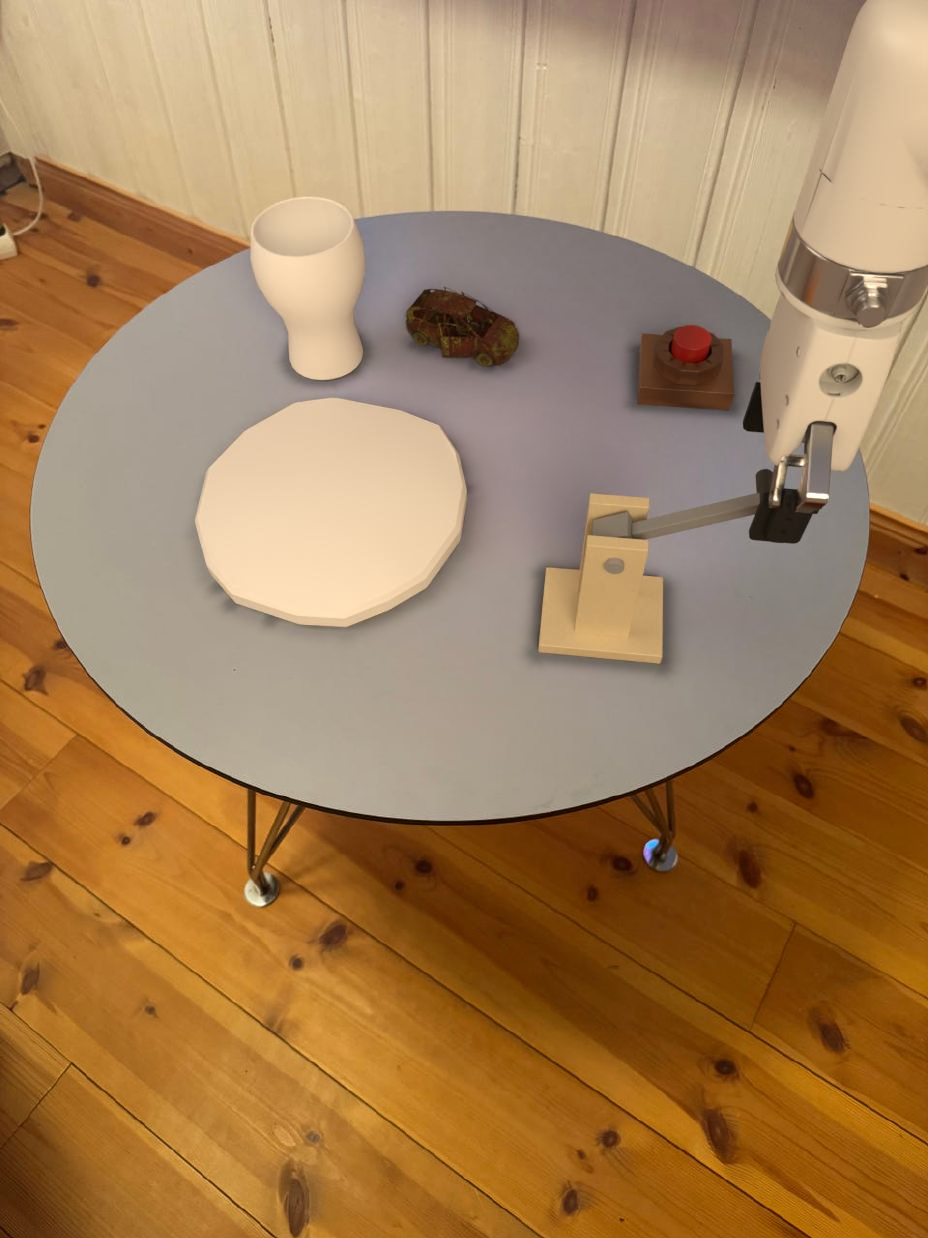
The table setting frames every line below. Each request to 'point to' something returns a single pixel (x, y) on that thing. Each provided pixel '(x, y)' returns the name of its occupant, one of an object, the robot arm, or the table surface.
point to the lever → (684, 515)
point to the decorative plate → (331, 511)
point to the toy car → (461, 327)
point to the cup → (312, 280)
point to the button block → (685, 375)
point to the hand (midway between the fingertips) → (768, 481)
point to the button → (691, 344)
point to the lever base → (605, 594)
